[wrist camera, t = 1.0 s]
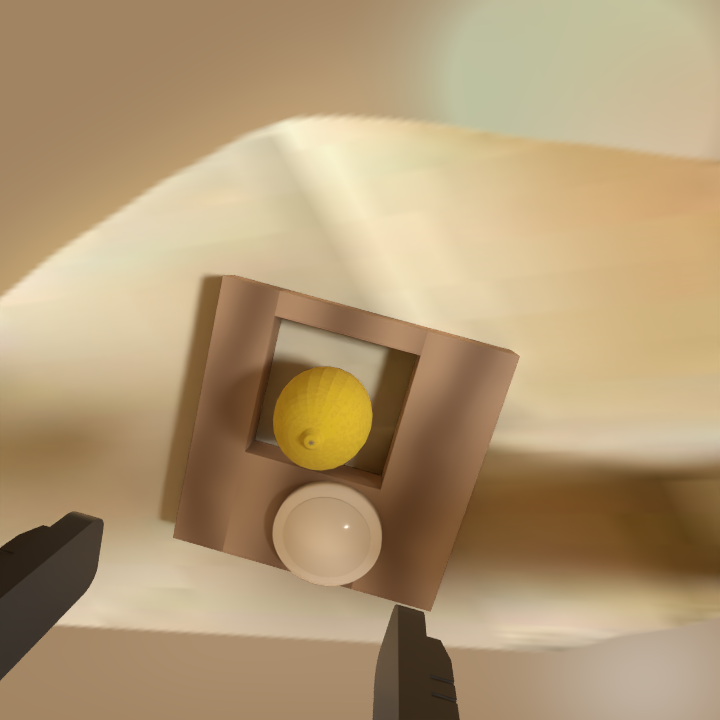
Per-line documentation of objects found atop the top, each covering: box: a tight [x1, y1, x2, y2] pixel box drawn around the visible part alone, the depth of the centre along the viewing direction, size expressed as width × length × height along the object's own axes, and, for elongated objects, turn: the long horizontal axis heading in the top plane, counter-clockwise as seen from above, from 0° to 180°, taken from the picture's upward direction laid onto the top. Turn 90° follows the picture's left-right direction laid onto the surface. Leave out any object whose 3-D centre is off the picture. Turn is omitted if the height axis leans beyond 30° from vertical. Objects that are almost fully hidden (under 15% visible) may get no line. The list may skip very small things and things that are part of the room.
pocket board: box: [173, 275, 520, 612], centre depth 28 cm, size 18×18×2 cm
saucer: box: [273, 481, 382, 586], centre depth 28 cm, size 7×7×1 cm
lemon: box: [273, 366, 373, 470], centre depth 25 cm, size 6×6×8 cm
